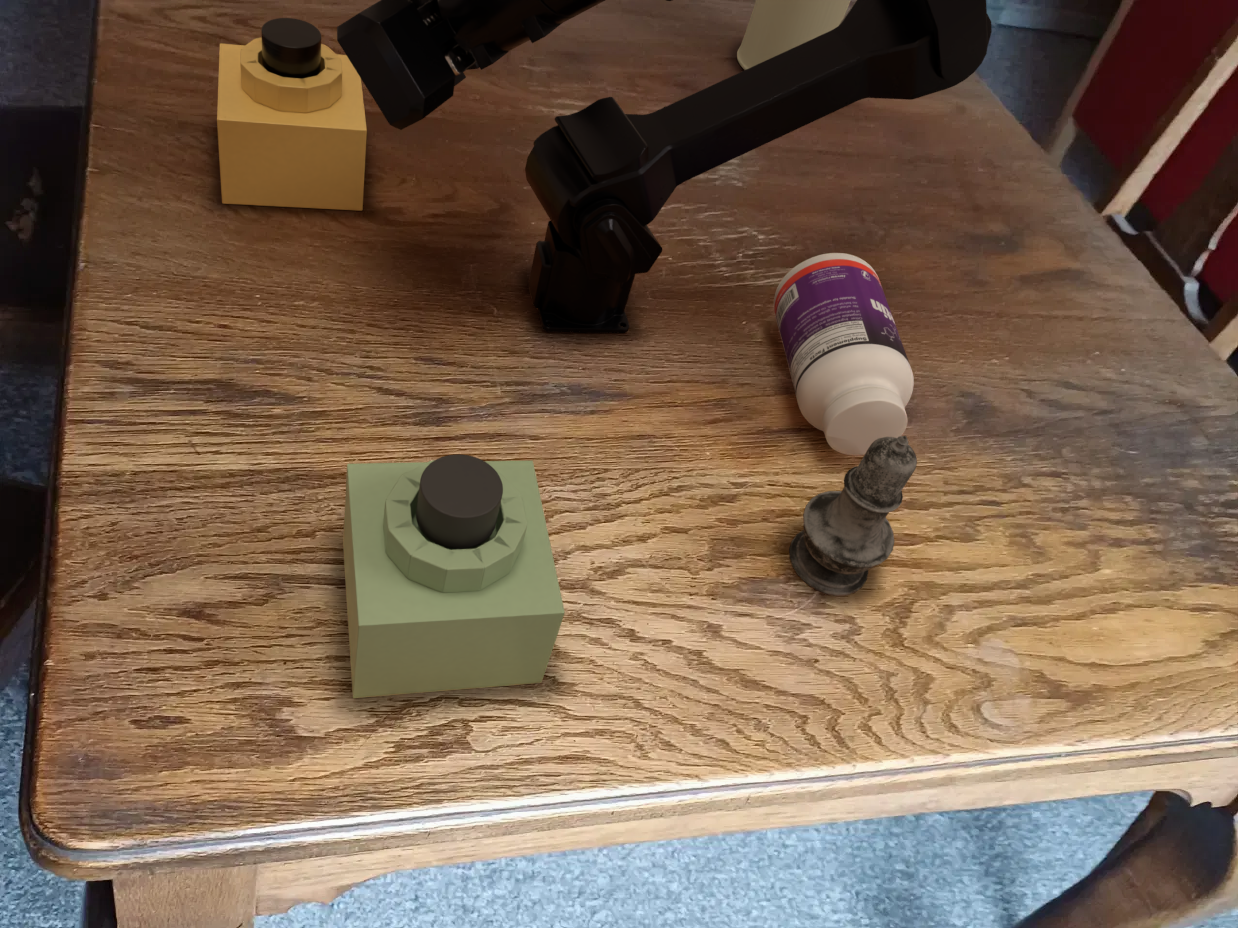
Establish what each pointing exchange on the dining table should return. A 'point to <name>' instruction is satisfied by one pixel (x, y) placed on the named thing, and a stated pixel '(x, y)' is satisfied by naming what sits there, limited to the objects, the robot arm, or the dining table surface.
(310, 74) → the back button
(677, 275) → the dining table surface
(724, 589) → the dining table surface
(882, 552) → the chess piece
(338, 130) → the yellow push button box
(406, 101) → the robot arm
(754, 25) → the can
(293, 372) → the dining table surface
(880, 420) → the pill bottle
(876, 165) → the dining table surface
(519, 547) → the green push button box
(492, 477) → the front button
